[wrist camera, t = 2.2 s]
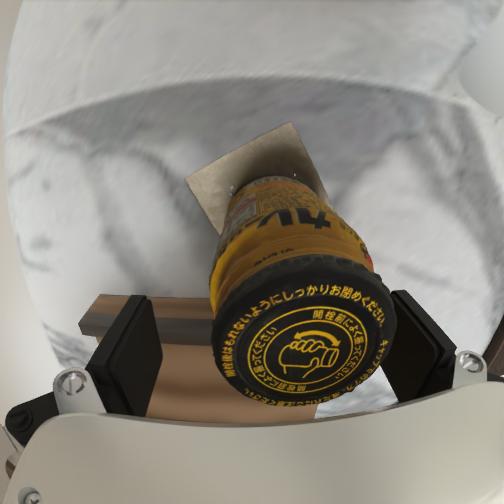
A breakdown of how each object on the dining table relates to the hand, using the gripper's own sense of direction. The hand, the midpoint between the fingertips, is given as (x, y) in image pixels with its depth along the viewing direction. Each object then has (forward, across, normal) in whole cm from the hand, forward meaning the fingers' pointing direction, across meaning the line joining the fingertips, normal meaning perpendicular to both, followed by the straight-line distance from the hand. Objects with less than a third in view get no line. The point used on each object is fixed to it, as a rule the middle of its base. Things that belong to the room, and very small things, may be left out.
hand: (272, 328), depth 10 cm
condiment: (+9, 0, -3) cm, 9 cm away
